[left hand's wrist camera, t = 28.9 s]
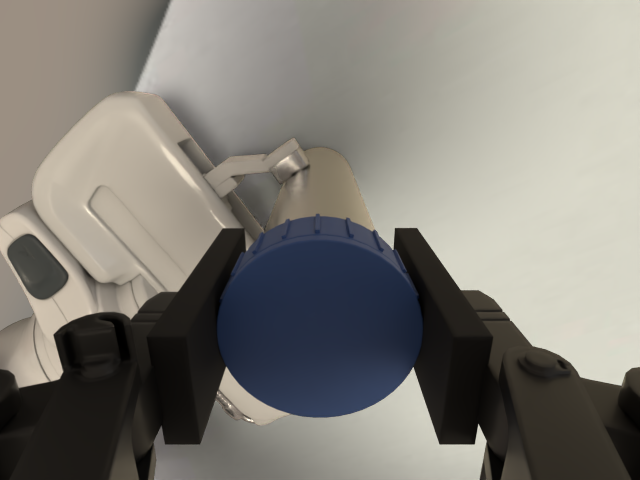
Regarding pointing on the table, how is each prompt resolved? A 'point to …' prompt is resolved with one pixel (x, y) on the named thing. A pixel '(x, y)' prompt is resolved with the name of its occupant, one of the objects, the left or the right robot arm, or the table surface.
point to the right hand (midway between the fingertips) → (333, 195)
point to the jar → (321, 191)
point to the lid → (319, 318)
